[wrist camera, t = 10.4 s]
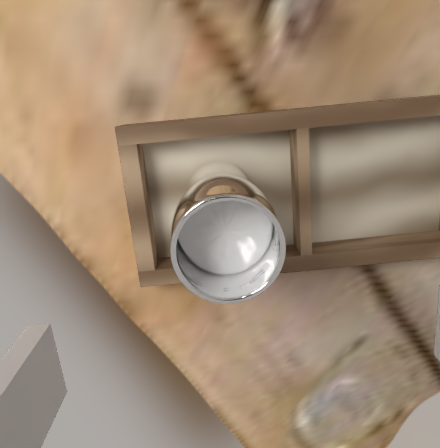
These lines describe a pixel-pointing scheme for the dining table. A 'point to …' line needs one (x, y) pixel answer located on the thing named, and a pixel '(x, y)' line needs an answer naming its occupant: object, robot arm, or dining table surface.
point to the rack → (299, 180)
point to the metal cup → (226, 236)
